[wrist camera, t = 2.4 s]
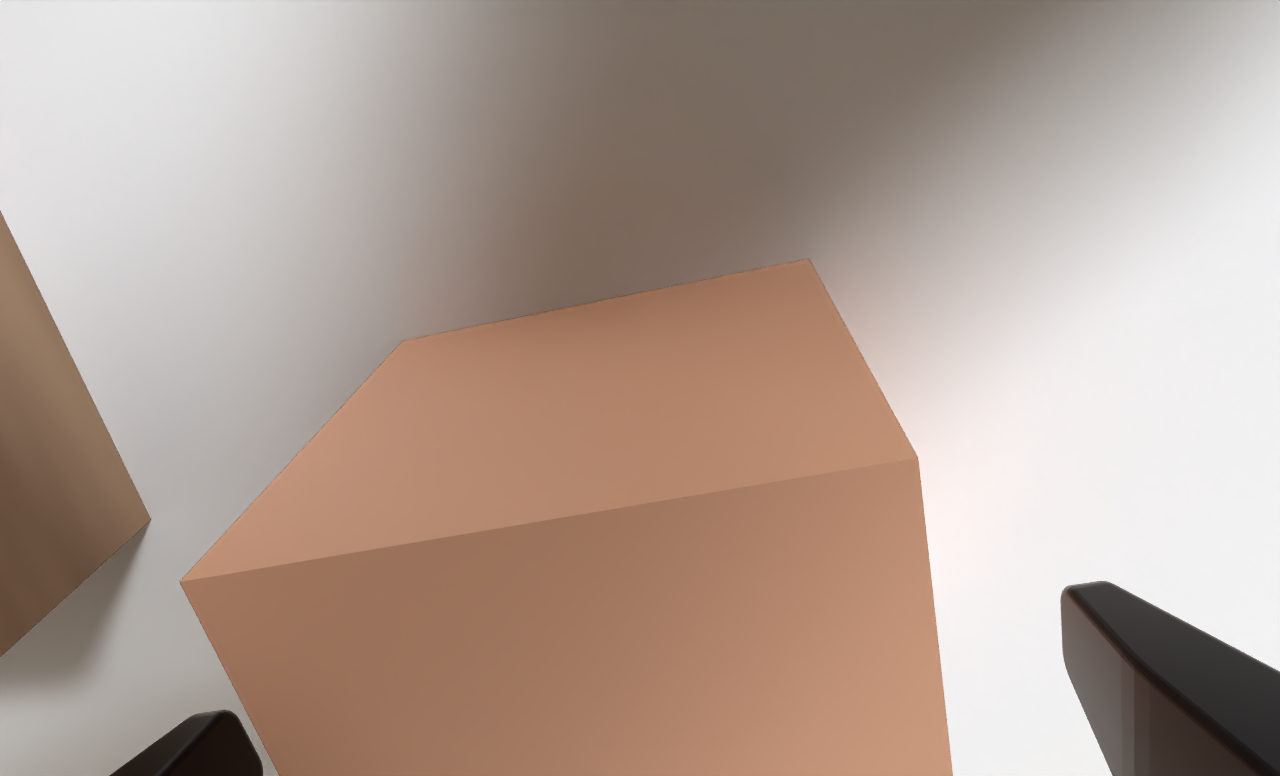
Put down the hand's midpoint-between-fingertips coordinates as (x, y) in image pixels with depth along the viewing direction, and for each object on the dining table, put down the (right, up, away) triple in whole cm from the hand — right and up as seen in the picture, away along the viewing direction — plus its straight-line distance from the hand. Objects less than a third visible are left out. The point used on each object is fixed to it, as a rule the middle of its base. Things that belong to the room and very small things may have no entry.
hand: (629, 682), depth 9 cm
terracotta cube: (0, +2, +4) cm, 5 cm away
